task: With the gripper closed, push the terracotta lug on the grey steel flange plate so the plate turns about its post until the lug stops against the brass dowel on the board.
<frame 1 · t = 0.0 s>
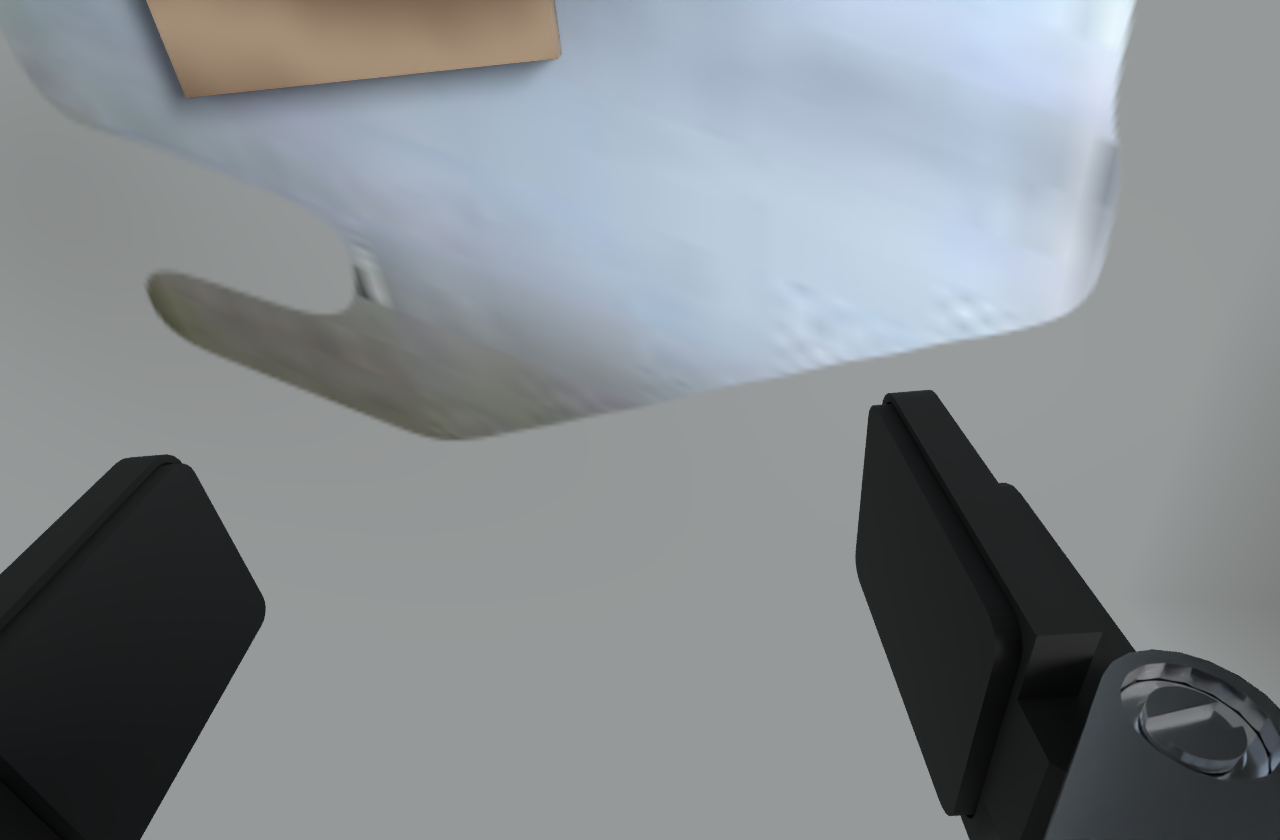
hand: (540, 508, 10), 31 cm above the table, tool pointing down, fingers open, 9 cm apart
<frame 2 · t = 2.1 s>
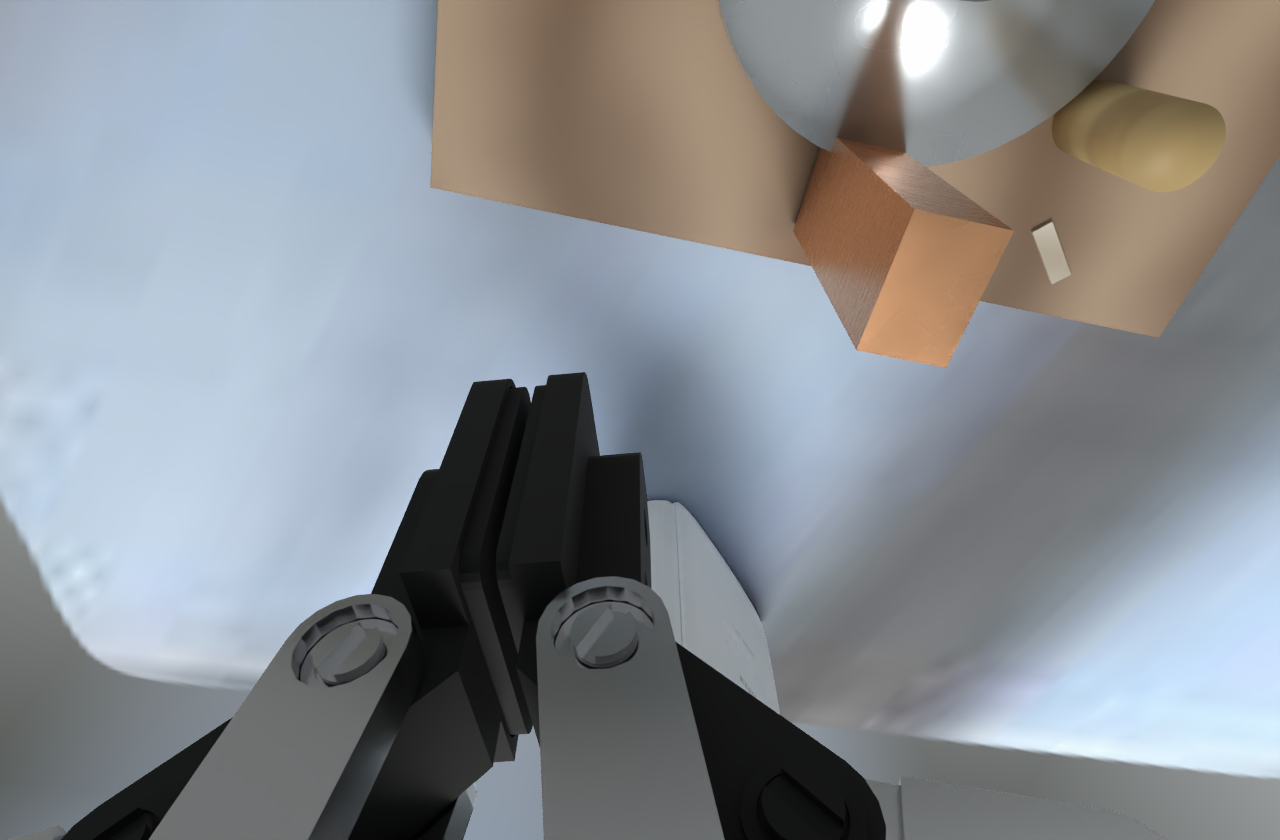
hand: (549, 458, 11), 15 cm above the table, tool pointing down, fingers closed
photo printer: (689, 573, 33), on the table
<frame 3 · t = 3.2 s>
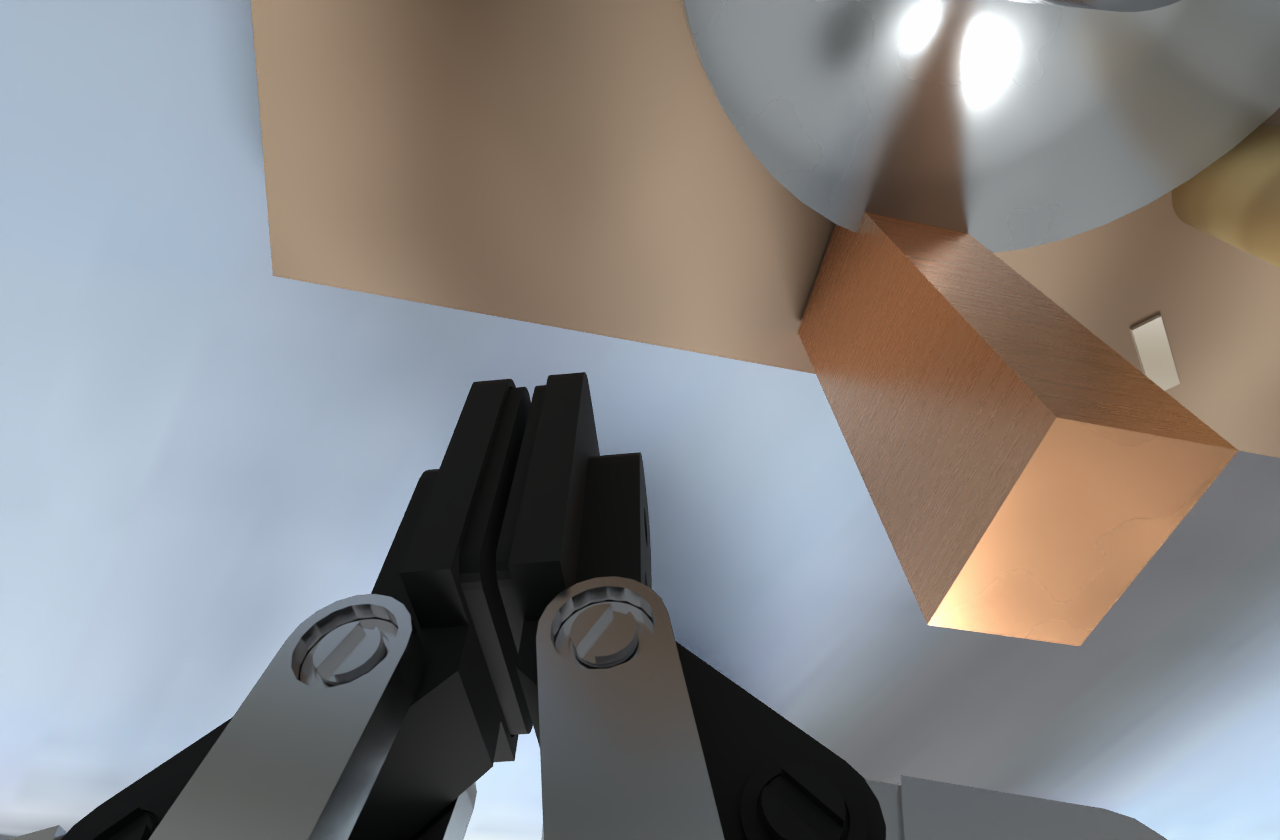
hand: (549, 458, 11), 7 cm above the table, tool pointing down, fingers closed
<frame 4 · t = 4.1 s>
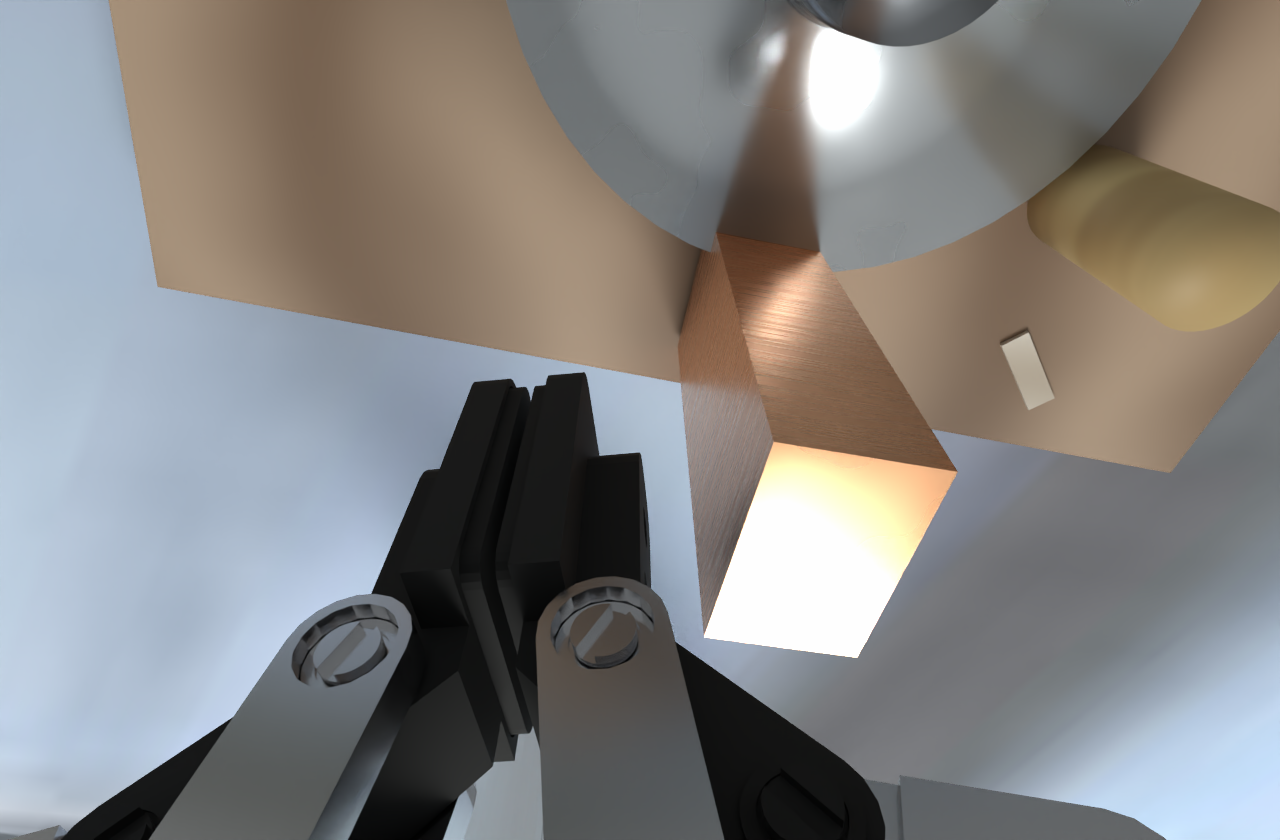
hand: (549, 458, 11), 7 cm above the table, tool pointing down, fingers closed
flange plate: (889, 23, 9), point 6 cm above the table, hinge at 0.9°, touching gripper
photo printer: (593, 716, 27), on the table
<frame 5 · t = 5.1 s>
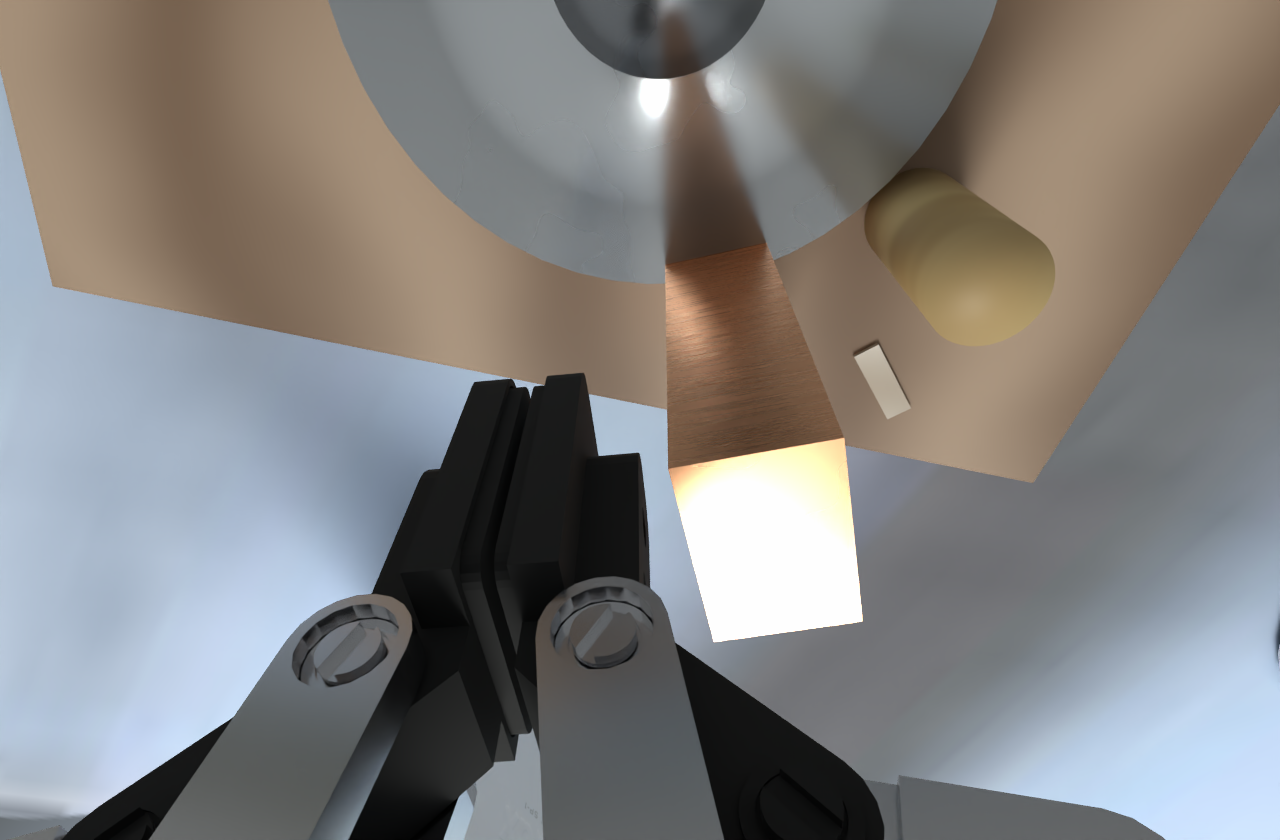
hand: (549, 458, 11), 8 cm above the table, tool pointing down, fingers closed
flange plate: (679, 58, 9), point 6 cm above the table, hinge at 25.7°, touching gripper
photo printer: (512, 710, 27), on the table
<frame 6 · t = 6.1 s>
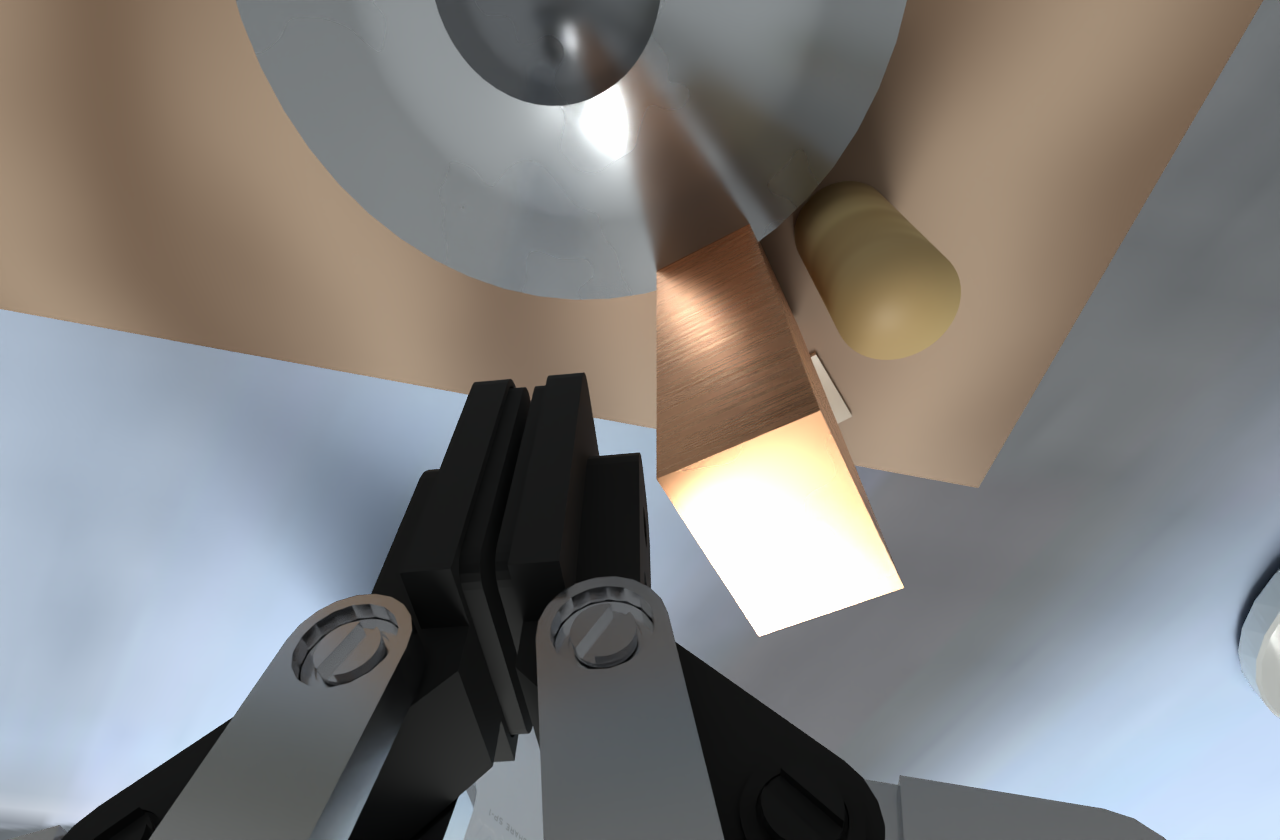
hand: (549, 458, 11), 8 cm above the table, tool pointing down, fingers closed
flange plate: (593, 76, 10), point 6 cm above the table, hinge at 39.9°, touching gripper
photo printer: (483, 717, 28), on the table
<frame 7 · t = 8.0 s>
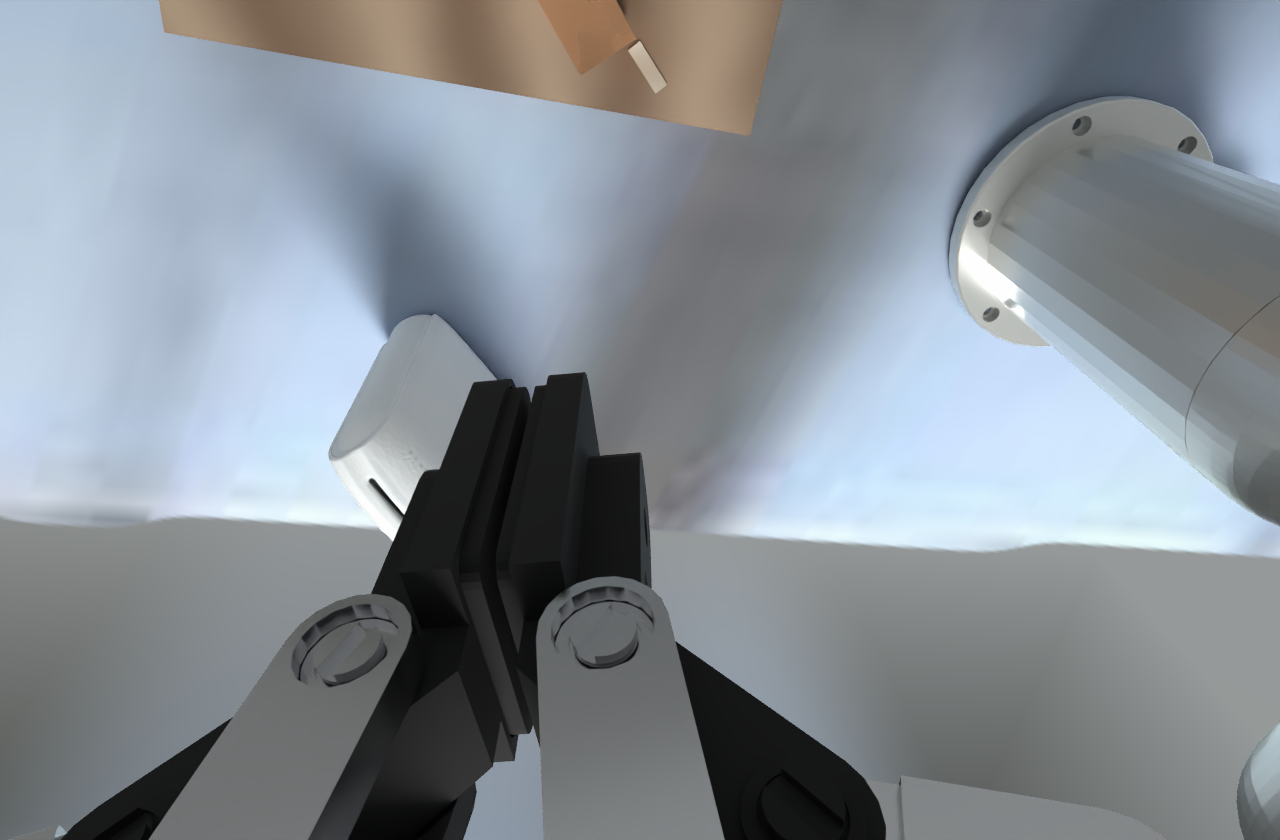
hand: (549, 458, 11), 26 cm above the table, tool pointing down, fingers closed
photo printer: (466, 386, 40), on the table
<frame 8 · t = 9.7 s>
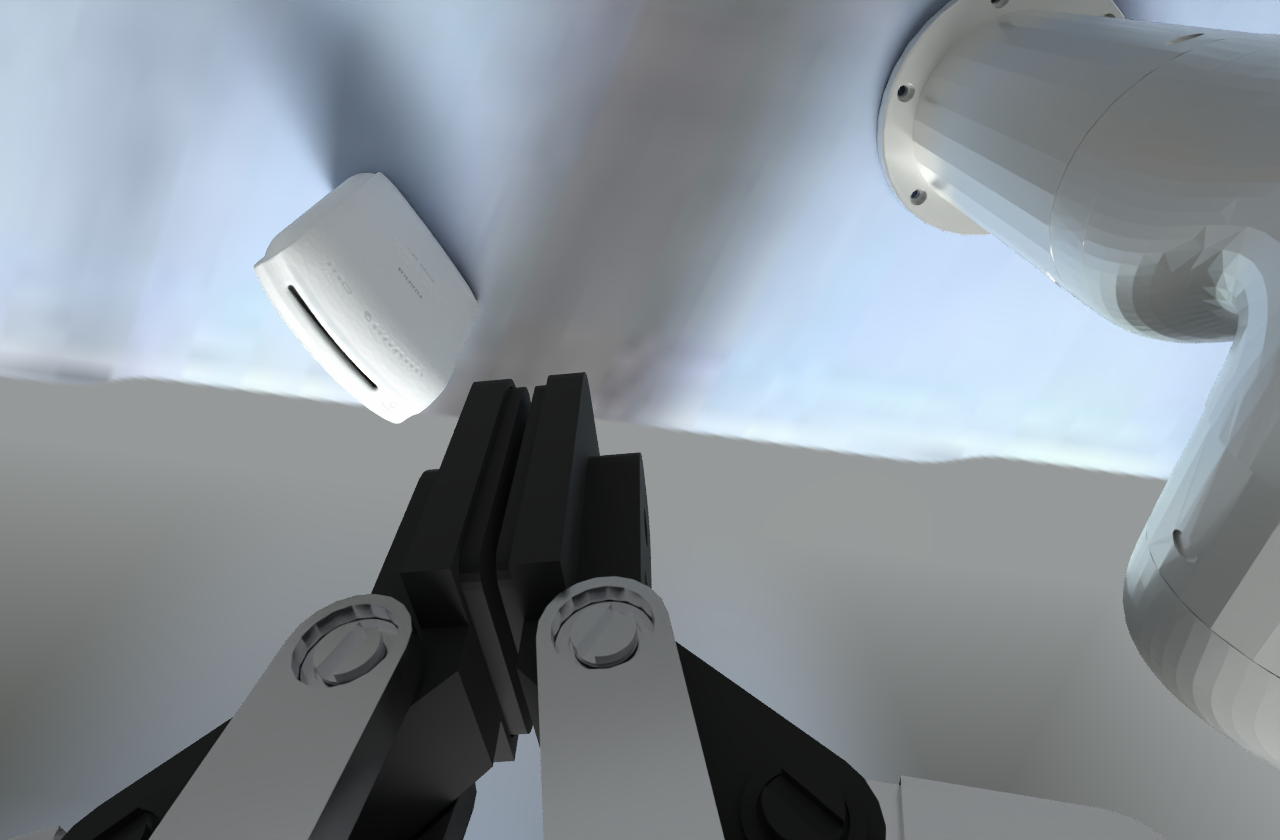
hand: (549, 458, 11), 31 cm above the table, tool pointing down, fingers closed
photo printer: (412, 253, 41), on the table
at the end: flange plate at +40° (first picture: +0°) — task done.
